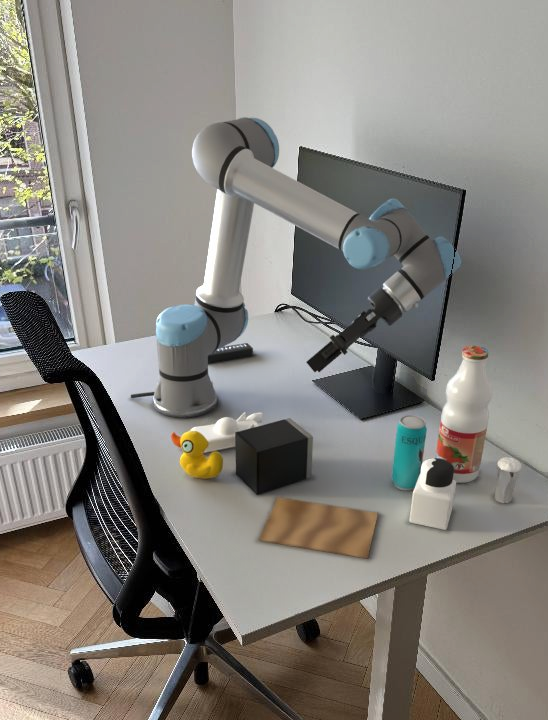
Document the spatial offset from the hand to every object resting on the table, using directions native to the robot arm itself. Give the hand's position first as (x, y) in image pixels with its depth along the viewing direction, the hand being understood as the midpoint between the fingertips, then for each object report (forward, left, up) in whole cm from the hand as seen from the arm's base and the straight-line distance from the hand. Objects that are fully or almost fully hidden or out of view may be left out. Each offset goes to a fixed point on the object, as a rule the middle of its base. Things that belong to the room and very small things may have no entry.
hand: (312, 367), depth 157 cm
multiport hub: (-33, +44, -20) cm, 58 cm away
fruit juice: (+32, 0, -20) cm, 38 cm away
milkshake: (+42, -8, -20) cm, 47 cm away
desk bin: (-5, -12, -20) cm, 24 cm away
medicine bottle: (+28, -18, -20) cm, 39 cm away
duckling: (-20, -16, -20) cm, 33 cm away
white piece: (-19, -1, -20) cm, 28 cm away
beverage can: (+22, -8, -20) cm, 31 cm away
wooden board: (+8, -27, -20) cm, 35 cm away
